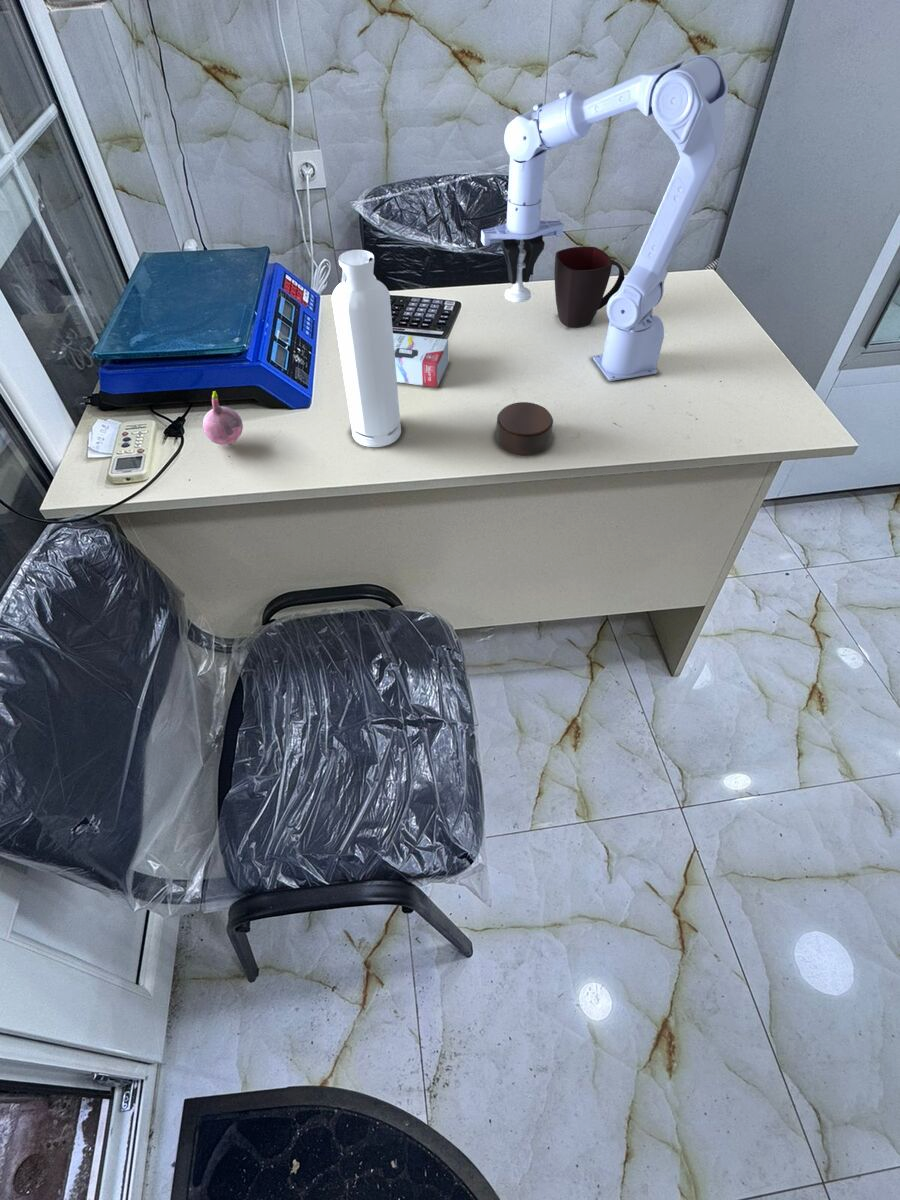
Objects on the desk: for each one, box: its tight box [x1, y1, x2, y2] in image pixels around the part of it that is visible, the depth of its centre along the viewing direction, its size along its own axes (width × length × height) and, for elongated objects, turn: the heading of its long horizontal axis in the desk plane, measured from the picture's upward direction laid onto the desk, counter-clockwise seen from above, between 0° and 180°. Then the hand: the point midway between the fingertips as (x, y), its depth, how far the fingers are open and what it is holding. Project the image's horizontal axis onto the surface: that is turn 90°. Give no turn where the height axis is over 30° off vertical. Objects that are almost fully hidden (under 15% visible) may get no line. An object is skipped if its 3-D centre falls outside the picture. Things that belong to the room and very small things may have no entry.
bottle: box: [331, 249, 402, 448], centre depth 96 cm, size 8×8×28 cm
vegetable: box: [202, 390, 244, 446], centre depth 101 cm, size 6×6×10 cm
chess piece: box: [504, 239, 532, 303], centre depth 117 cm, size 5×5×10 cm
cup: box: [554, 246, 626, 329], centre depth 124 cm, size 10×14×12 cm
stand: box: [495, 401, 554, 456], centre depth 104 cm, size 9×9×4 cm
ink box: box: [393, 332, 449, 388], centre depth 116 cm, size 9×5×12 cm
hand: (518, 280), depth 119 cm, fingers closed on chess piece
